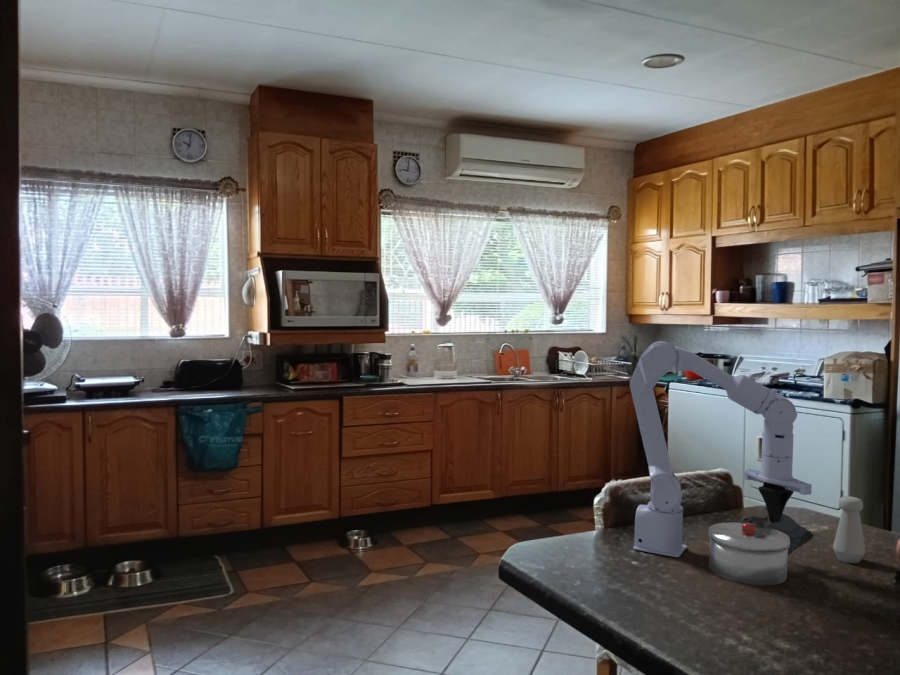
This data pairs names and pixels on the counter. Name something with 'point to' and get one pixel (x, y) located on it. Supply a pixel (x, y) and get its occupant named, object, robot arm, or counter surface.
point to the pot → (748, 565)
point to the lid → (750, 535)
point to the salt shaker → (849, 531)
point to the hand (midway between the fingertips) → (774, 521)
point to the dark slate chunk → (788, 530)
